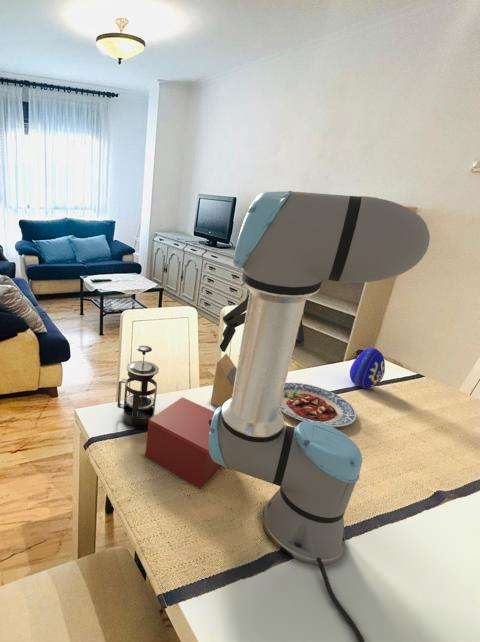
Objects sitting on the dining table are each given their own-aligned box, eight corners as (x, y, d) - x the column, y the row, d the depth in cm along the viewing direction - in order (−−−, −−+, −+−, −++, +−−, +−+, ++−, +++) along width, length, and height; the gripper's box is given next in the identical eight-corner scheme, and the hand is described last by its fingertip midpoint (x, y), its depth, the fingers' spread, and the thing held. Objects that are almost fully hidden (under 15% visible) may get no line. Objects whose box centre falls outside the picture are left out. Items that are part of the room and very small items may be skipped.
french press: (159, 415, 115) (167, 344, 106) (151, 432, 107) (159, 358, 98) (122, 406, 118) (127, 337, 110) (112, 422, 110) (116, 349, 101)
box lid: (239, 426, 94) (243, 406, 92) (209, 455, 84) (213, 433, 81) (181, 400, 104) (184, 381, 102) (148, 422, 94) (150, 402, 91)
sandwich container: (258, 420, 115) (268, 376, 109) (210, 403, 122) (217, 361, 117) (265, 407, 122) (275, 365, 116) (218, 392, 129) (225, 352, 124)
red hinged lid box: (230, 457, 99) (236, 425, 95) (200, 489, 88) (206, 453, 84) (177, 430, 108) (181, 400, 104) (145, 456, 97) (148, 422, 94)
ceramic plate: (374, 427, 115) (377, 419, 114) (301, 436, 109) (303, 427, 108) (315, 385, 138) (317, 378, 137) (251, 390, 132) (253, 383, 131)
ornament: (362, 394, 134) (376, 355, 128) (339, 382, 141) (351, 345, 136) (383, 389, 138) (397, 351, 132) (360, 378, 146) (372, 341, 140)
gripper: (337, 306, 92) (302, 382, 87) (240, 285, 107) (205, 349, 102) (337, 289, 87) (300, 369, 82) (234, 268, 101) (198, 335, 96)
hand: (247, 358), depth 92 cm, fingers open, 13 cm apart
